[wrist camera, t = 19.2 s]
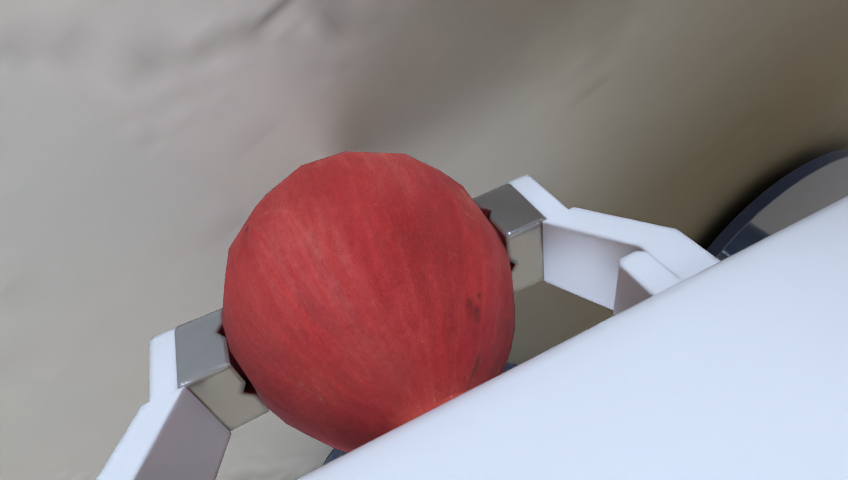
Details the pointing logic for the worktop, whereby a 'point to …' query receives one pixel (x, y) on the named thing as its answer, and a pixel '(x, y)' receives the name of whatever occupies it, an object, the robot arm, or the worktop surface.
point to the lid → (786, 203)
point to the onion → (366, 296)
